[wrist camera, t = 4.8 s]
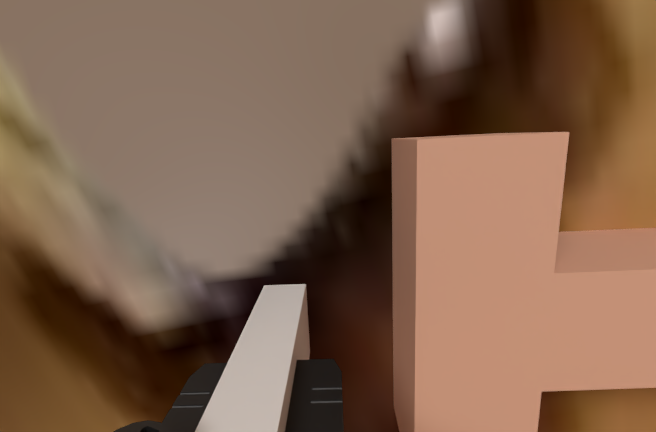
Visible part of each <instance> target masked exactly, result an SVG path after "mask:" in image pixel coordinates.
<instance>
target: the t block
mask: <svg viewBox="0 0 656 432" xmlns="http://www.w3.org/2000/svg"><path fill="white" fill-rule="evenodd" d="M568 140H569V132H538V133H494V134H475V135H455V136H435V137H415V138H395V139H392V256H393V396H394V410H395V414H396V419H397V423H398V428H399V432H537V430H538V420H539V411H540V402H541V392H543V391H572V390H602V389H631V388H656V228H639V229H616V230H594V231H571V232H559V224H560V214H561V205H562V196H563V186H564V177H565V168H566V158H567V149H568Z"/></svg>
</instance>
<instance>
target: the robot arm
mask: <svg viewBox="0 0 656 432" xmlns="http://www.w3.org/2000/svg"><path fill="white" fill-rule="evenodd" d="M309 357H310V342H309V326H308V309H307V293H306V284H291V285H264V287H263V289H262V291H261V294H260V296H259V298H258V300H257V302H256V304H255V306H254V308H253V310H252V313H251V315H250V317H249V319H248V321H247V323H246V325H245V327H244V329H243V331H242V334H241V336H240V338H239V340H238V342H237V344H236V346H235V348H234V350H233V353H232V355H231V357H230V359H229V361H228V363H211V364H204V365H203V366H202V367H201V368H199V369H198V370H197V371H196V372H195V373H194V374H192V375H191V376H190V377H189V379H188V381H187V382H186V384H185V386H184V387H183V389H182V391H181V394H180V395H179V396H178V397H177V399H176V400H175V402H174V404H173V407H172V409H170V410H169V412H168V414H167V415H166V417H165V419H164V420H163V422H162V423H160V422H154V421H142V422H136V423H132V424H129V425H127V426H125V427H122V428H120V429H117V430H115V431H114V432H344V425H343V399H342V373H341V370H340V368H339V367H338V365H337V364H336V362H335V361H334V359H310V360H309Z"/></svg>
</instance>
